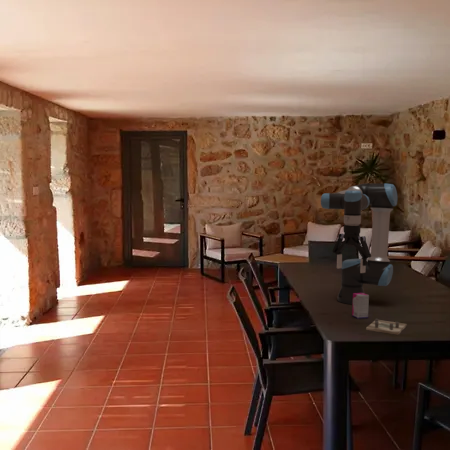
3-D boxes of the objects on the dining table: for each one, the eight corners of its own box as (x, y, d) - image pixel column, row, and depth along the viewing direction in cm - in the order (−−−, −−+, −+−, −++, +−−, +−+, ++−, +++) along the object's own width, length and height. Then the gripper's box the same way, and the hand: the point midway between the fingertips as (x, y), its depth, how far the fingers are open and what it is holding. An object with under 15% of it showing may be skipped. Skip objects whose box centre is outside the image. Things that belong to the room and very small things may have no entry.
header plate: (376, 321, 254) (376, 314, 254) (406, 326, 247) (406, 318, 246) (366, 329, 240) (366, 322, 240) (398, 334, 233) (398, 326, 233)
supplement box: (368, 318, 260) (369, 294, 259) (357, 319, 258) (358, 295, 257) (362, 315, 266) (362, 292, 264) (351, 315, 264) (352, 293, 263)
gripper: (325, 222, 253) (324, 267, 255) (369, 227, 233) (367, 275, 235) (336, 221, 257) (335, 265, 259) (380, 226, 238) (378, 273, 240)
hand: (350, 270), depth 247 cm, fingers open, 13 cm apart
